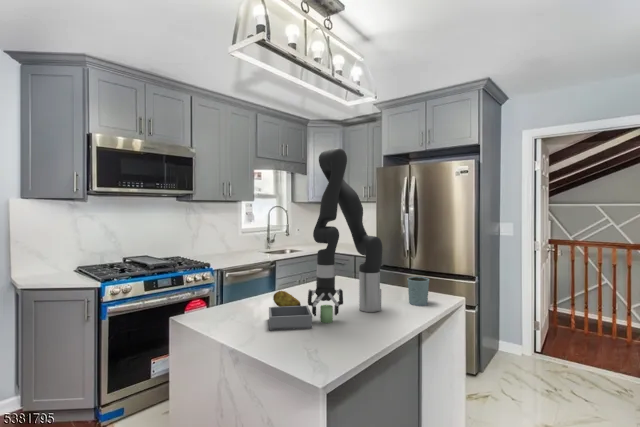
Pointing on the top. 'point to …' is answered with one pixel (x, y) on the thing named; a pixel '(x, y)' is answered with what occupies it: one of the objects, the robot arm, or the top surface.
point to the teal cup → (418, 290)
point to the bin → (290, 318)
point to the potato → (285, 299)
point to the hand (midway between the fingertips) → (325, 315)
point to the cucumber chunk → (326, 313)
